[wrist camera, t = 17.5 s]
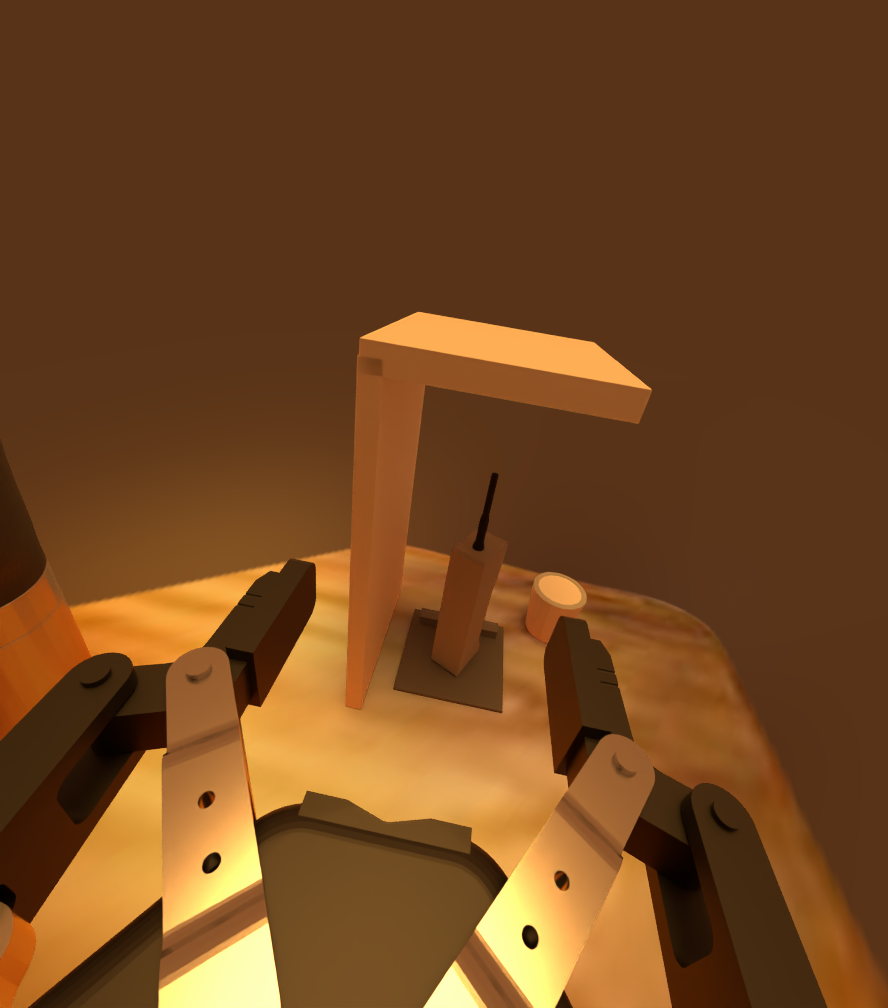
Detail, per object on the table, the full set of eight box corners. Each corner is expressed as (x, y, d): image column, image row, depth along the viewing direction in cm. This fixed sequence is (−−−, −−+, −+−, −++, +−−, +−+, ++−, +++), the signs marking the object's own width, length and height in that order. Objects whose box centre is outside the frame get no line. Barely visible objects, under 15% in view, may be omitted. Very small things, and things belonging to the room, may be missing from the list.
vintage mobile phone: (478, 651, 50) (528, 470, 37) (456, 678, 46) (504, 487, 34) (453, 635, 52) (493, 456, 39) (430, 660, 48) (466, 471, 35)
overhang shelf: (345, 706, 42) (358, 337, 24) (389, 589, 57) (417, 311, 39) (509, 742, 41) (652, 389, 23) (508, 613, 57) (593, 342, 38)
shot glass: (573, 652, 52) (591, 614, 49) (520, 641, 53) (534, 601, 49) (567, 614, 58) (583, 577, 55) (520, 604, 59) (532, 566, 55)
